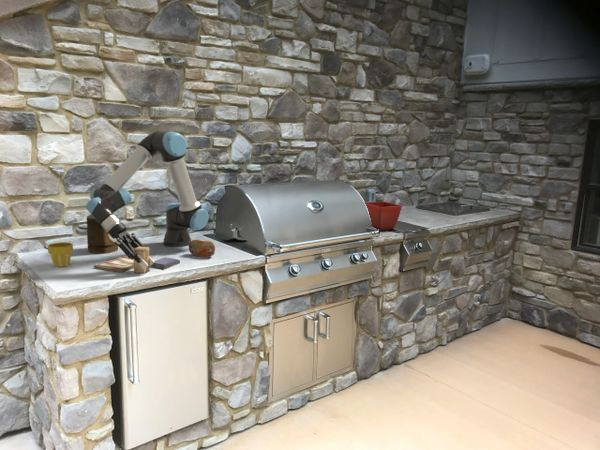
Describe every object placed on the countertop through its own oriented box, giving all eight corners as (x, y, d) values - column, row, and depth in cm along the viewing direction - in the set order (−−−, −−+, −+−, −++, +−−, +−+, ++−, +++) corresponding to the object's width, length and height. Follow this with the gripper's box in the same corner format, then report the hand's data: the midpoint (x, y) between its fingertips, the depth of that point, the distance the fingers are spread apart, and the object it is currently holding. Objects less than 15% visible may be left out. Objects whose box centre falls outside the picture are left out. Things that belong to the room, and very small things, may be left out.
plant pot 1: (50, 262, 230) (49, 242, 229) (74, 261, 234) (73, 241, 232) (47, 268, 221) (46, 247, 219) (73, 267, 225) (71, 246, 223)
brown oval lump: (188, 254, 253) (188, 238, 252) (192, 253, 256) (192, 237, 254) (212, 259, 247) (212, 242, 245) (216, 257, 250) (216, 241, 248)
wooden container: (119, 252, 252) (117, 210, 248) (87, 254, 247) (85, 211, 242) (117, 245, 266) (116, 205, 261) (88, 247, 260) (85, 206, 256)
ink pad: (164, 260, 241) (164, 256, 240) (179, 262, 238) (179, 258, 237) (148, 266, 230) (148, 262, 229) (164, 269, 227) (164, 265, 226)
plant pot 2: (400, 229, 334) (402, 205, 331) (378, 232, 324) (380, 207, 321) (382, 224, 350) (384, 201, 347) (361, 226, 341) (362, 202, 337)
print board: (126, 256, 245) (126, 254, 245) (152, 260, 239) (152, 258, 239) (93, 267, 225) (93, 265, 225) (121, 272, 219) (121, 269, 219)
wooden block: (139, 269, 224) (138, 246, 222) (149, 270, 223) (149, 247, 221) (133, 273, 220) (133, 249, 217) (144, 274, 219) (143, 250, 216)
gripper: (120, 228, 230) (153, 265, 230) (97, 236, 212) (133, 276, 212) (130, 218, 228) (163, 255, 228) (108, 225, 210) (144, 265, 210)
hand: (149, 265), depth 220 cm, fingers closed on wooden block, 5 cm apart
